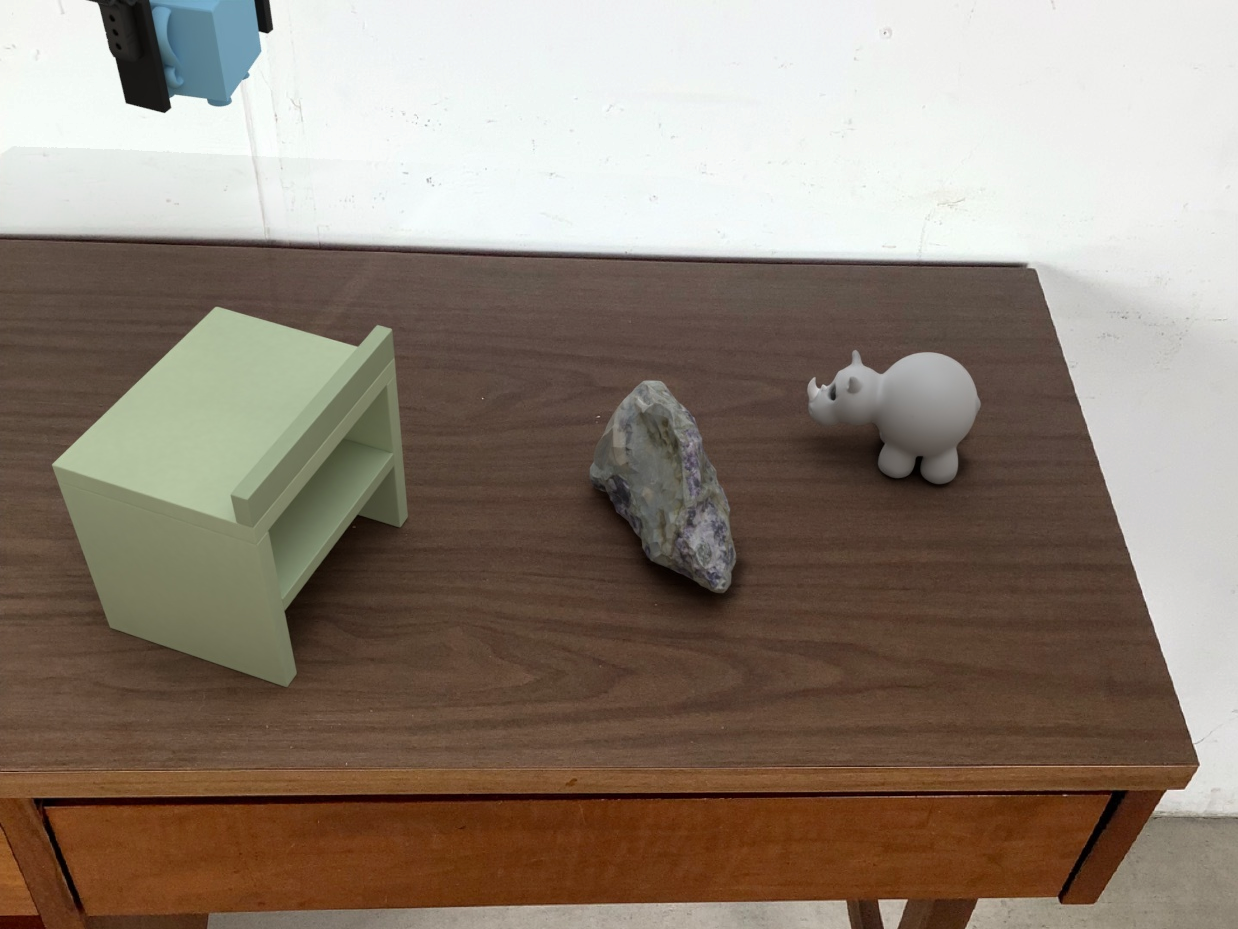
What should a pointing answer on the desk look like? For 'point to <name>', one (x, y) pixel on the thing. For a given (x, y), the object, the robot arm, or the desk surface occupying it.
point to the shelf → (234, 484)
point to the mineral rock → (666, 486)
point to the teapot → (206, 46)
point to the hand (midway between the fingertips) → (203, 65)
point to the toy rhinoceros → (904, 410)
